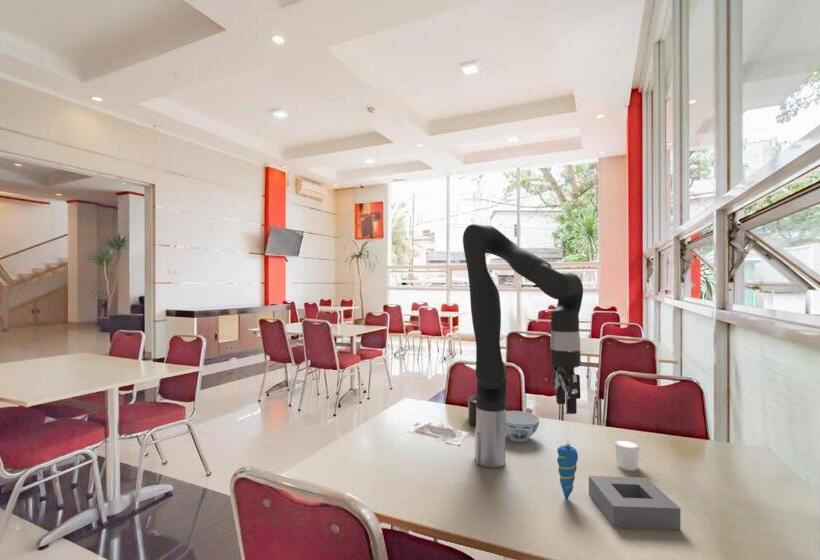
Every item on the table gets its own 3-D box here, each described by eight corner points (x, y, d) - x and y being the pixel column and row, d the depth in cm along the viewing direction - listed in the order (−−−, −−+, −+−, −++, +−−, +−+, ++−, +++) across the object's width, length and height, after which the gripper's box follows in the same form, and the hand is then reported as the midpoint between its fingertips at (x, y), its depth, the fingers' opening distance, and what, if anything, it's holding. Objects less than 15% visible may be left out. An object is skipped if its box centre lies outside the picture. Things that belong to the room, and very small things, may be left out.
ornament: (553, 493, 110) (553, 437, 110) (571, 493, 110) (572, 437, 111) (562, 504, 105) (562, 445, 105) (581, 503, 105) (581, 444, 105)
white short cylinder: (642, 472, 123) (642, 449, 123) (618, 470, 125) (618, 447, 125) (635, 462, 130) (635, 440, 130) (611, 460, 131) (611, 438, 131)
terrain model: (413, 428, 164) (413, 415, 165) (470, 431, 158) (470, 418, 158) (400, 442, 149) (399, 428, 149) (463, 447, 142) (462, 432, 142)
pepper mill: (497, 427, 161) (498, 381, 161) (469, 426, 162) (469, 380, 162) (492, 414, 177) (493, 373, 177) (466, 414, 177) (467, 372, 178)
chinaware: (544, 436, 152) (544, 415, 152) (532, 449, 139) (533, 427, 139) (505, 428, 160) (505, 408, 160) (491, 440, 147) (491, 418, 148)
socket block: (613, 527, 95) (613, 506, 95) (588, 494, 110) (588, 475, 110) (680, 530, 94) (680, 508, 94) (646, 496, 109) (646, 477, 109)
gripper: (543, 344, 117) (544, 401, 117) (559, 352, 103) (560, 417, 102) (570, 344, 117) (571, 401, 116) (590, 351, 102) (591, 417, 102)
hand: (566, 408), depth 109 cm, fingers open, 8 cm apart
